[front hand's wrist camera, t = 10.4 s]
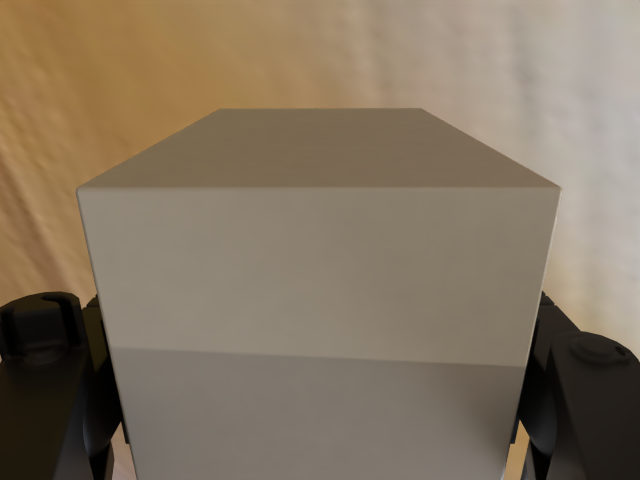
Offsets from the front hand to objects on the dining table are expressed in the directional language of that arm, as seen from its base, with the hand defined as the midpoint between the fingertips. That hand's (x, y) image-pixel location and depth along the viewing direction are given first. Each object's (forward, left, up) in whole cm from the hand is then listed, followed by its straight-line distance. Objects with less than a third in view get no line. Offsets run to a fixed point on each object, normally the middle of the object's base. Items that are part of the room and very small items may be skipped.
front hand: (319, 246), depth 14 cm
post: (+12, -35, 0) cm, 37 cm away
